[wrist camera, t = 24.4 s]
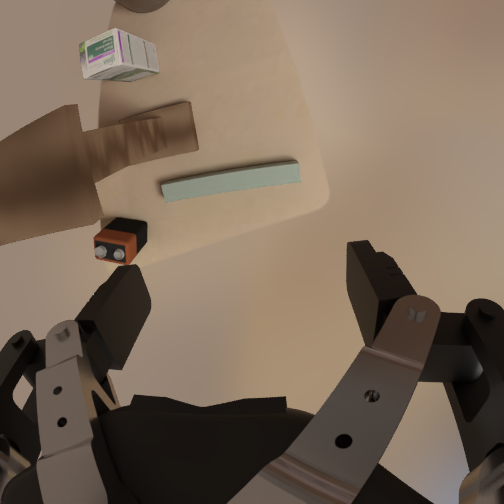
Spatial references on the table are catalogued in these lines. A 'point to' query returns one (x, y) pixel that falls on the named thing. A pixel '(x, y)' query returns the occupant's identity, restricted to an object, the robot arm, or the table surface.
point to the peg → (232, 180)
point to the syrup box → (118, 57)
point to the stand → (78, 165)
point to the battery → (120, 240)
